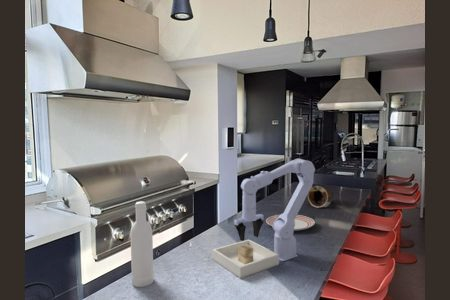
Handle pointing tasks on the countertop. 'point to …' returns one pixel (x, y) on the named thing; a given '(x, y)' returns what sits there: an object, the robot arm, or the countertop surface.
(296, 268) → the countertop surface
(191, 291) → the countertop surface
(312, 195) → the clay pot
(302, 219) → the dinner plate
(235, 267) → the bin
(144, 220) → the bottle
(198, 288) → the countertop surface
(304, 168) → the robot arm
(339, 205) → the countertop surface
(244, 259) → the maple block
